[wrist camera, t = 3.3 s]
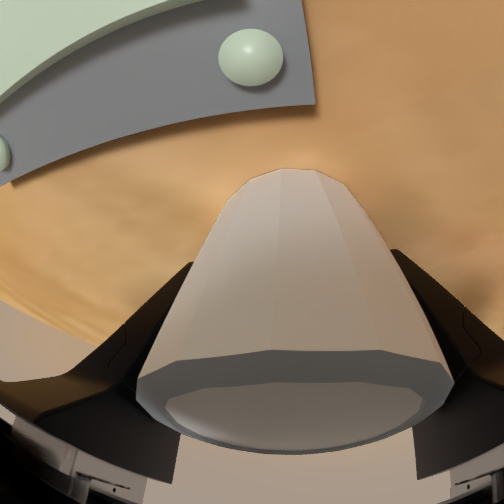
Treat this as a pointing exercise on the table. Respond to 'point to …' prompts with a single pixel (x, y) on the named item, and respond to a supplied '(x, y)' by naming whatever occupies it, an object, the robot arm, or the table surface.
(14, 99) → the baseplate
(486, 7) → the table surface
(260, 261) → the shot glass
